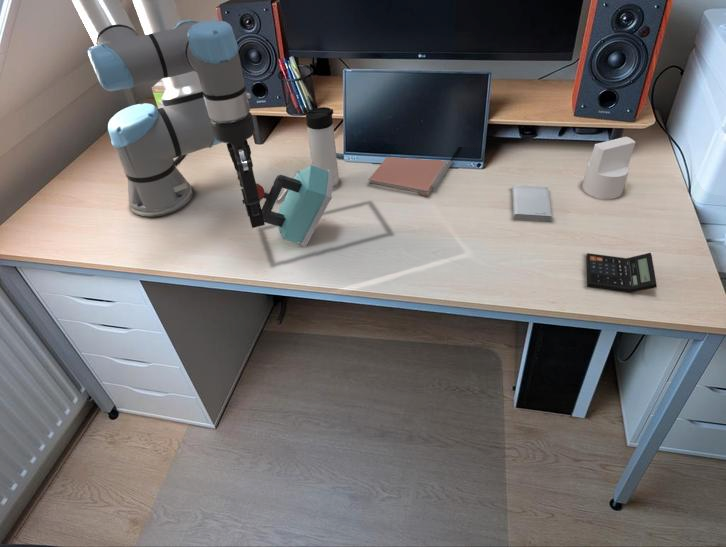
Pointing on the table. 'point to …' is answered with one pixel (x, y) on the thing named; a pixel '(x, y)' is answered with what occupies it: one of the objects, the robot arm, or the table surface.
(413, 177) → the notebook
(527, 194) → the hard drive
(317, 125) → the travel mug
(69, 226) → the table surface
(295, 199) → the iron
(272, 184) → the picture light
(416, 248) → the table surface
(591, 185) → the cylinder with rectangular tab
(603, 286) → the calculator
